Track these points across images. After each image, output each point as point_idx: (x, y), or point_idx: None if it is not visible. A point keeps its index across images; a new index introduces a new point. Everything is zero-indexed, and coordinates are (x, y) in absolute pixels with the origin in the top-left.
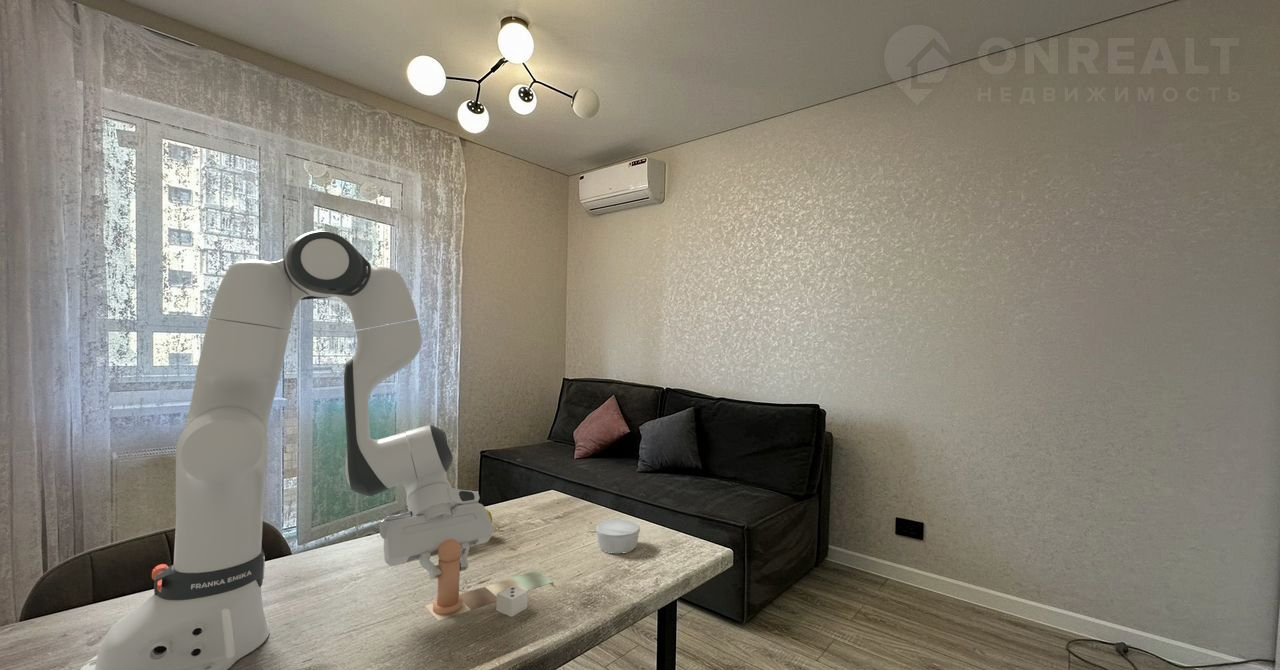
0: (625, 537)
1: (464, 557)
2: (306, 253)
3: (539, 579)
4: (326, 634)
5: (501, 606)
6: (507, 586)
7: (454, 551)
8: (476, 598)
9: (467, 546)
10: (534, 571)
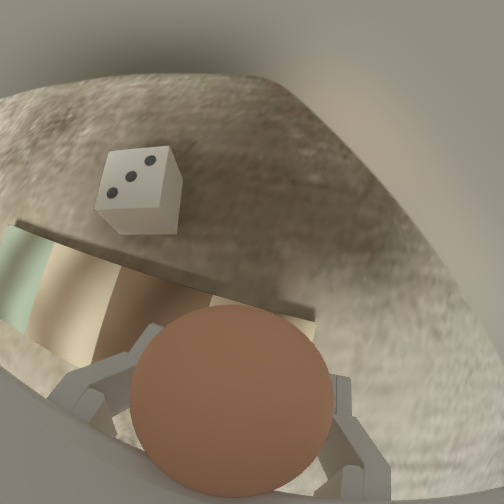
0: None
1: (137, 358)
2: None
3: (7, 261)
4: (469, 478)
5: (171, 202)
6: (57, 309)
7: (255, 309)
8: None
9: (70, 386)
10: None
